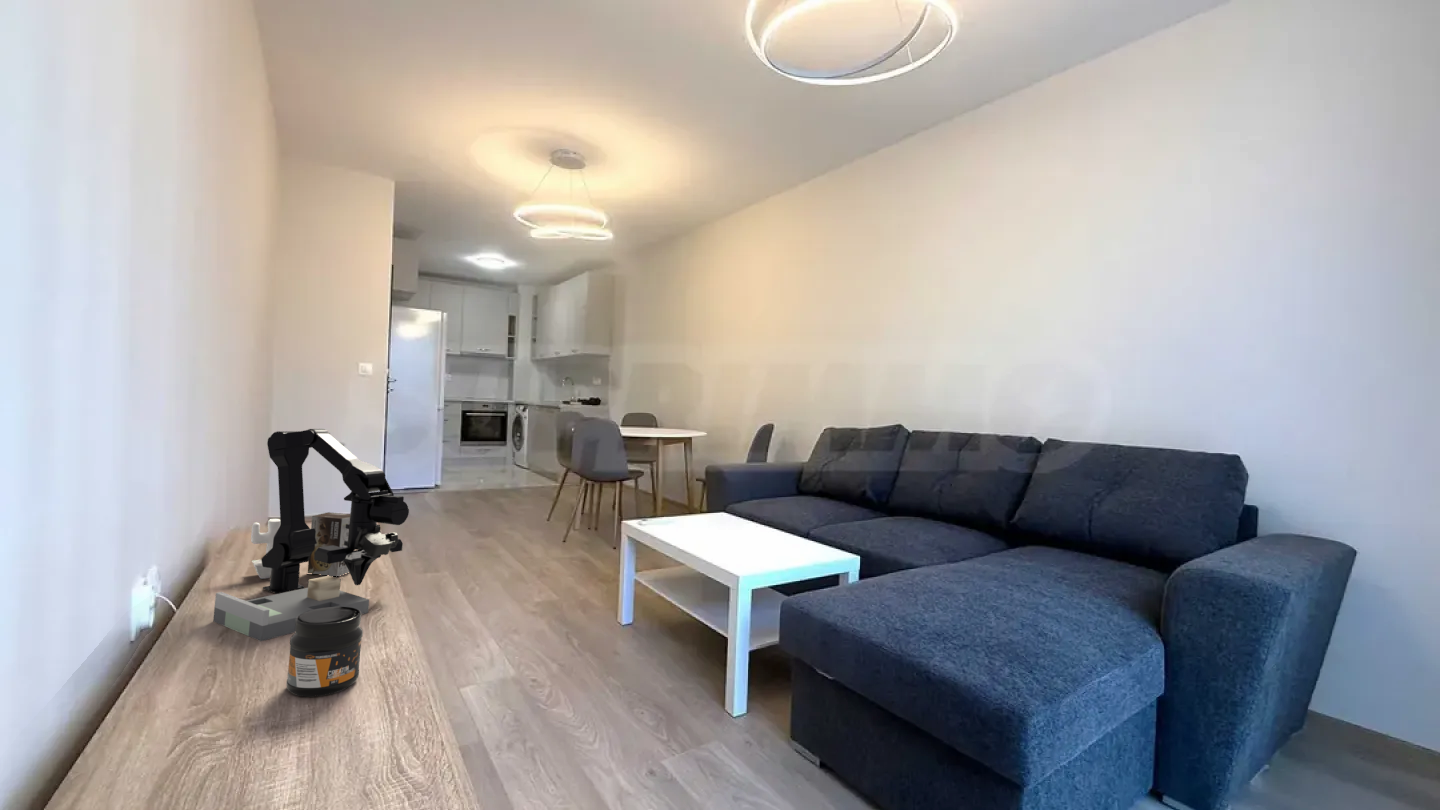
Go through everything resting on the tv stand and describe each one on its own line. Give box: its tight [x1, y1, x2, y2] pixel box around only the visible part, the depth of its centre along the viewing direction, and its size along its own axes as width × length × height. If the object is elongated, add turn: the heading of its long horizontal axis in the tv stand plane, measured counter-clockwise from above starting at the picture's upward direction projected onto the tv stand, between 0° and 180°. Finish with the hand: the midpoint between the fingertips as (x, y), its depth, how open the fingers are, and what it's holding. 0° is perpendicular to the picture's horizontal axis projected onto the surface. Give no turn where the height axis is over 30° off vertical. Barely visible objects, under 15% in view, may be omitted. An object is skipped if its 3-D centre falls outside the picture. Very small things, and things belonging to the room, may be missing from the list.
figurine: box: [250, 518, 281, 580], centre depth 159 cm, size 7×9×15 cm
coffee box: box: [307, 511, 350, 578], centre depth 165 cm, size 9×6×16 cm
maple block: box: [307, 576, 341, 601], centre depth 137 cm, size 4×4×4 cm
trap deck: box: [212, 587, 370, 642], centre depth 132 cm, size 18×22×6 cm
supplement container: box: [286, 607, 364, 698], centre depth 103 cm, size 10×10×12 cm
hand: (357, 584), depth 145 cm, fingers closed
